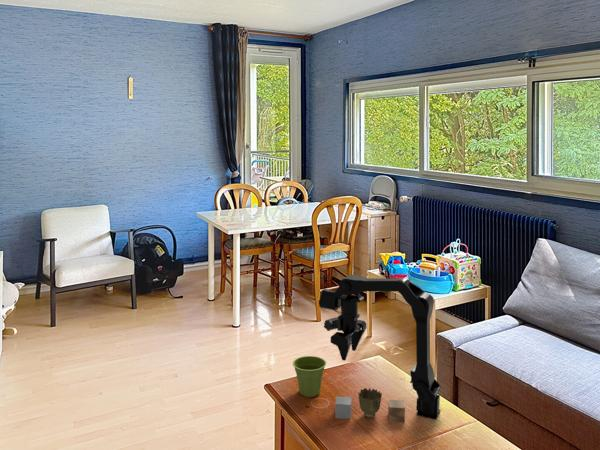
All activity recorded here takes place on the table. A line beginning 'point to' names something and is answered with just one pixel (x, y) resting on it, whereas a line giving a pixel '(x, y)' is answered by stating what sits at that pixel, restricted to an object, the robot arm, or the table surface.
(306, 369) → the plant pot
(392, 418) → the walnut block
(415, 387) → the robot arm
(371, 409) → the ornate bronze bell
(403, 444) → the table surface
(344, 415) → the slate grey block
